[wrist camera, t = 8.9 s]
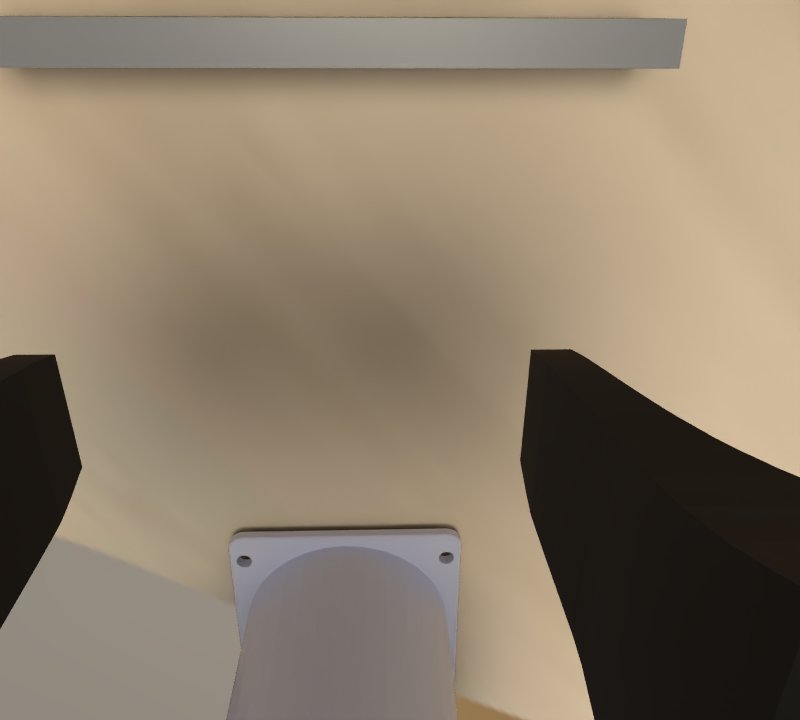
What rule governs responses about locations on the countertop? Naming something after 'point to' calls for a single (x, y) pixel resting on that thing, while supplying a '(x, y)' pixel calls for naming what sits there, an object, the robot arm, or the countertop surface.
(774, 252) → the countertop surface
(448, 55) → the low fence
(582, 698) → the countertop surface
